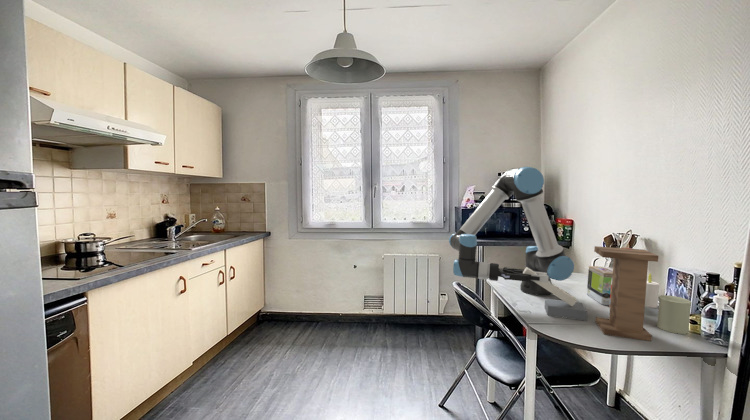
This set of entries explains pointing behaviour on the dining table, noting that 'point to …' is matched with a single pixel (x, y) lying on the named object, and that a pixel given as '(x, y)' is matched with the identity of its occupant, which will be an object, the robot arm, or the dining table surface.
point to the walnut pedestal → (627, 292)
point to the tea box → (600, 284)
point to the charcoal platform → (565, 309)
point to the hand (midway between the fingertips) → (547, 277)
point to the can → (674, 314)
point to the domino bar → (553, 289)
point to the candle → (651, 293)
